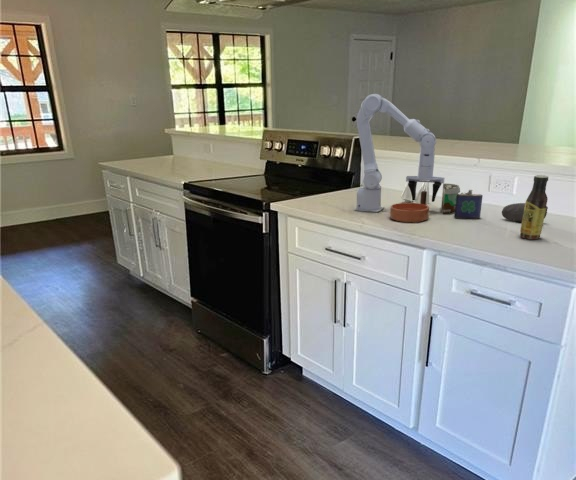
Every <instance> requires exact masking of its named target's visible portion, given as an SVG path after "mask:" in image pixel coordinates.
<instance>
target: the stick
mask: <svg viewBox="0 0 576 480" xmlns="http://www.w3.org/2000/svg"><path fill="white" fill-rule="evenodd" d="M426 197H427V191H424V190H423V191H421V200H420V204H424V205H427V204H426Z"/></svg>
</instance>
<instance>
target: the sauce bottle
mask: <svg viewBox="0 0 576 480" xmlns="http://www.w3.org/2000/svg"><path fill="white" fill-rule="evenodd" d="M548 181H549V176H548V175H546V174H545V175H543V174H536V175H534V176H533V184H532V188H531V190H530V193H529V194H528V196H527V198H526V199H525V202H524V203H525V208H524V213H523V219H522V222H521V225H520V230H519V232H520V234H519V236H520V238H522V239H525V240H538V239H540V238H541V234H542V230H543V225H544V222H545V221H544V220H545V218H544V216H545V212H546V206H547V204H548V195H547V192H546V190H547V184H548Z"/></svg>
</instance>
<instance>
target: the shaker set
mask: <svg viewBox="0 0 576 480" xmlns="http://www.w3.org/2000/svg"><path fill="white" fill-rule="evenodd" d="M408 183H409V182H406V183H405V187H404V189H403V191H402V193H401V195H400V199H401V200H403V201H405V202H407V203H412V202H413V201H414V202H413V203H419V204H420V200H421V191H427V197H426V205H429V204H430V182H422V184H421V186H420V188H419V191H418V192H417V193H416V198H415V200H412V194H411V191H410V188H409V186H408Z"/></svg>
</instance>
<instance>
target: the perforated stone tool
mask: <svg viewBox="0 0 576 480" xmlns="http://www.w3.org/2000/svg"><path fill="white" fill-rule="evenodd" d="M525 203H526V202H518V203H517V202H516V203H511V204H507V205H506V206H504V207H503V208H502V210H501V215H502V217H503V218H504V219H506V220H507V221H514V222H518V223H522V219H523V213H524V208H525ZM548 209H549V208H548V206H547V205H546V212H545V216H544V219H545V218H547V214H548Z"/></svg>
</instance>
